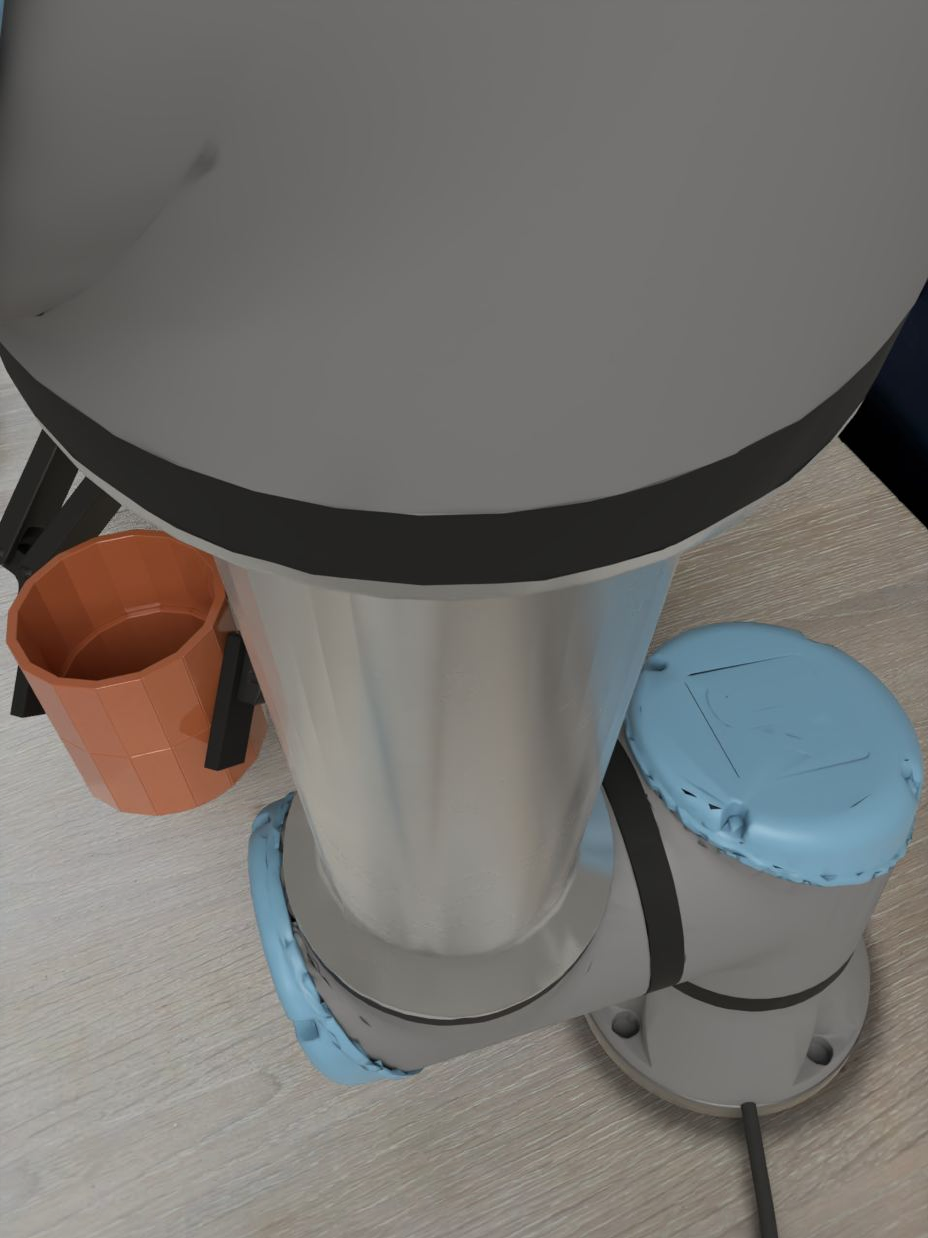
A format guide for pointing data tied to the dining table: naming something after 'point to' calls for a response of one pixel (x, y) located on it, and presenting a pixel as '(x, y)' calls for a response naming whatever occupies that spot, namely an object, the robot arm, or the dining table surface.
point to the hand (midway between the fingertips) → (126, 738)
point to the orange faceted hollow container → (132, 666)
